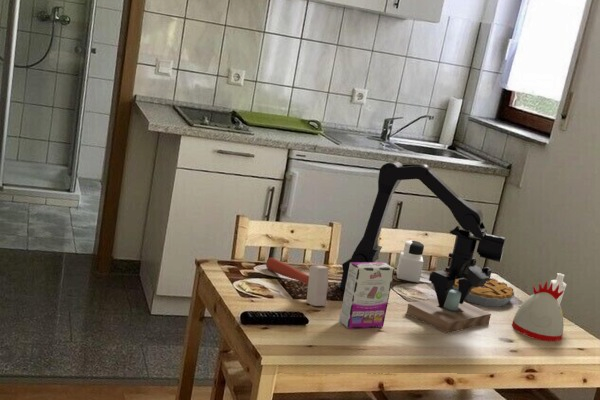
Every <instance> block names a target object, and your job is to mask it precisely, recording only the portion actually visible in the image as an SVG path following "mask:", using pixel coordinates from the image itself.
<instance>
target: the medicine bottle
mask: <svg viewBox="0 0 600 400" xmlns="http://www.w3.org/2000/svg"><path fill="white" fill-rule="evenodd" d="M424 248H425V246H424V243H422V242H420V241H417V240H406V241H405V243H404V247H403V251H401V252H400V254H399V258H398V262H397V268H396V278H397V279H399V280H403V281H408V282H413V283H418V284H419V283H420V280H421V275H422V270H423V265H424V258H423V253H424V250H425V249H424Z"/></svg>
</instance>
